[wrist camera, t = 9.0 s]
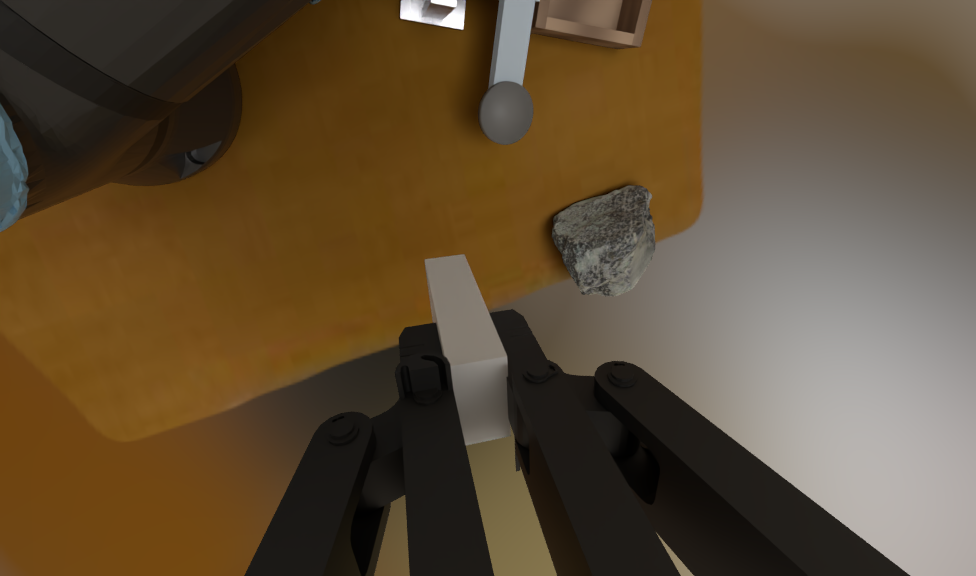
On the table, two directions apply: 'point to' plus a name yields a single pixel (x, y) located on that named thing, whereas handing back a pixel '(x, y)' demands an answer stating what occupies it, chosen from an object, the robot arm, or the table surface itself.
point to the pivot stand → (434, 12)
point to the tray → (593, 21)
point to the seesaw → (508, 75)
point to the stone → (607, 240)
